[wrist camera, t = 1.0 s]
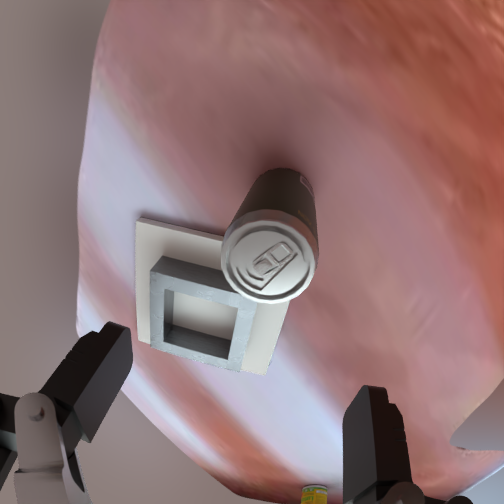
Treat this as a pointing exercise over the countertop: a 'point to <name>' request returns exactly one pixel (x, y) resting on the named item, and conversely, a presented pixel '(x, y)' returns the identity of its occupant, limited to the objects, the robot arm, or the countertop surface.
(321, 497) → the supplement bottle
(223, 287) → the can collar
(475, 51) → the countertop surface
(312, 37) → the countertop surface
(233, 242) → the beer can
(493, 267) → the countertop surface
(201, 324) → the holder plate
